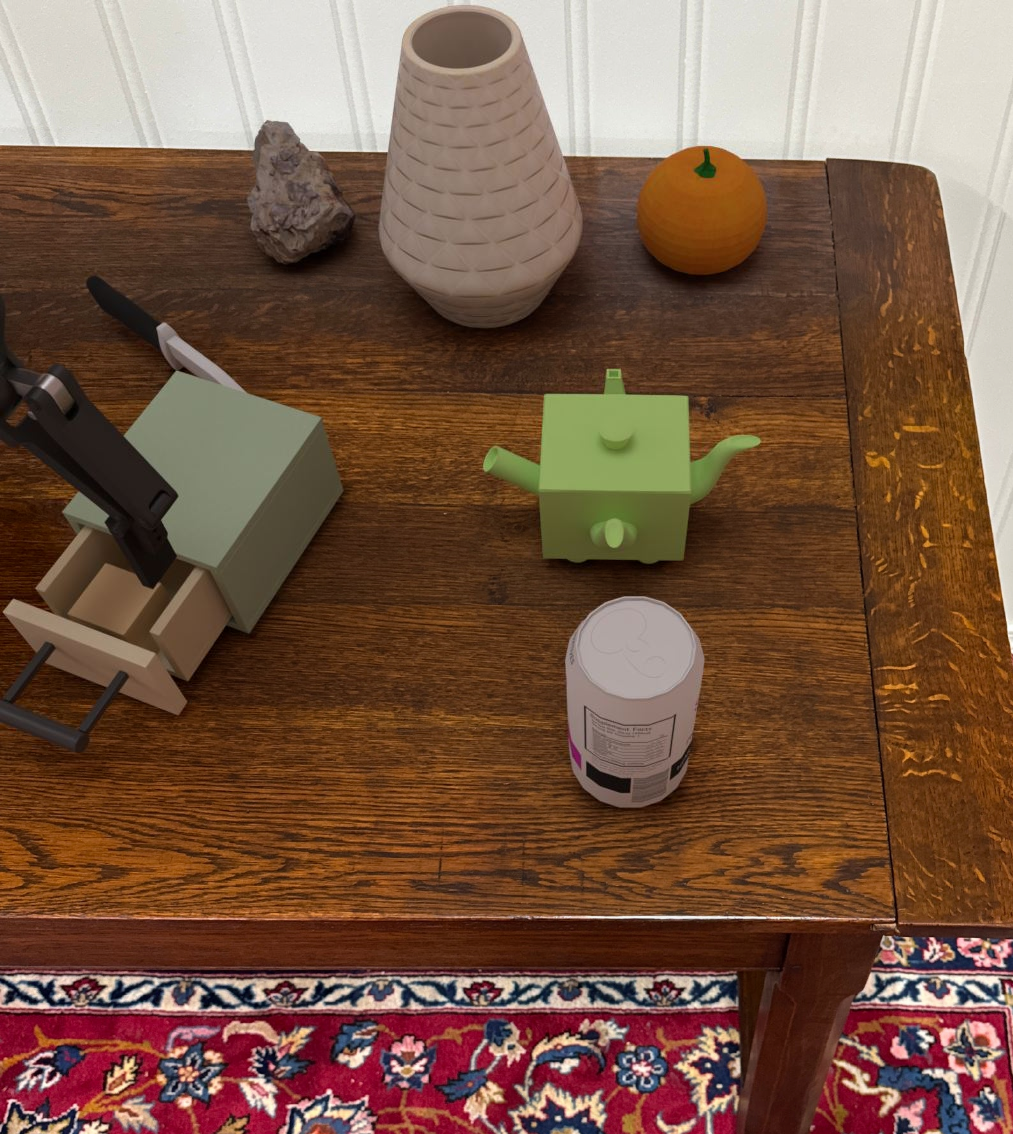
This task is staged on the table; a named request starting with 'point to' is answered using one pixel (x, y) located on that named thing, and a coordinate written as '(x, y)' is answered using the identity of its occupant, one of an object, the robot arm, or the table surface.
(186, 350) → the knife
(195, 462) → the cabinet
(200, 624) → the drawer
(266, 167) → the rock
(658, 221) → the fruit
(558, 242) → the vase
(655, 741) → the supplement can
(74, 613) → the block
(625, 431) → the kettle
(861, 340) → the table surface
